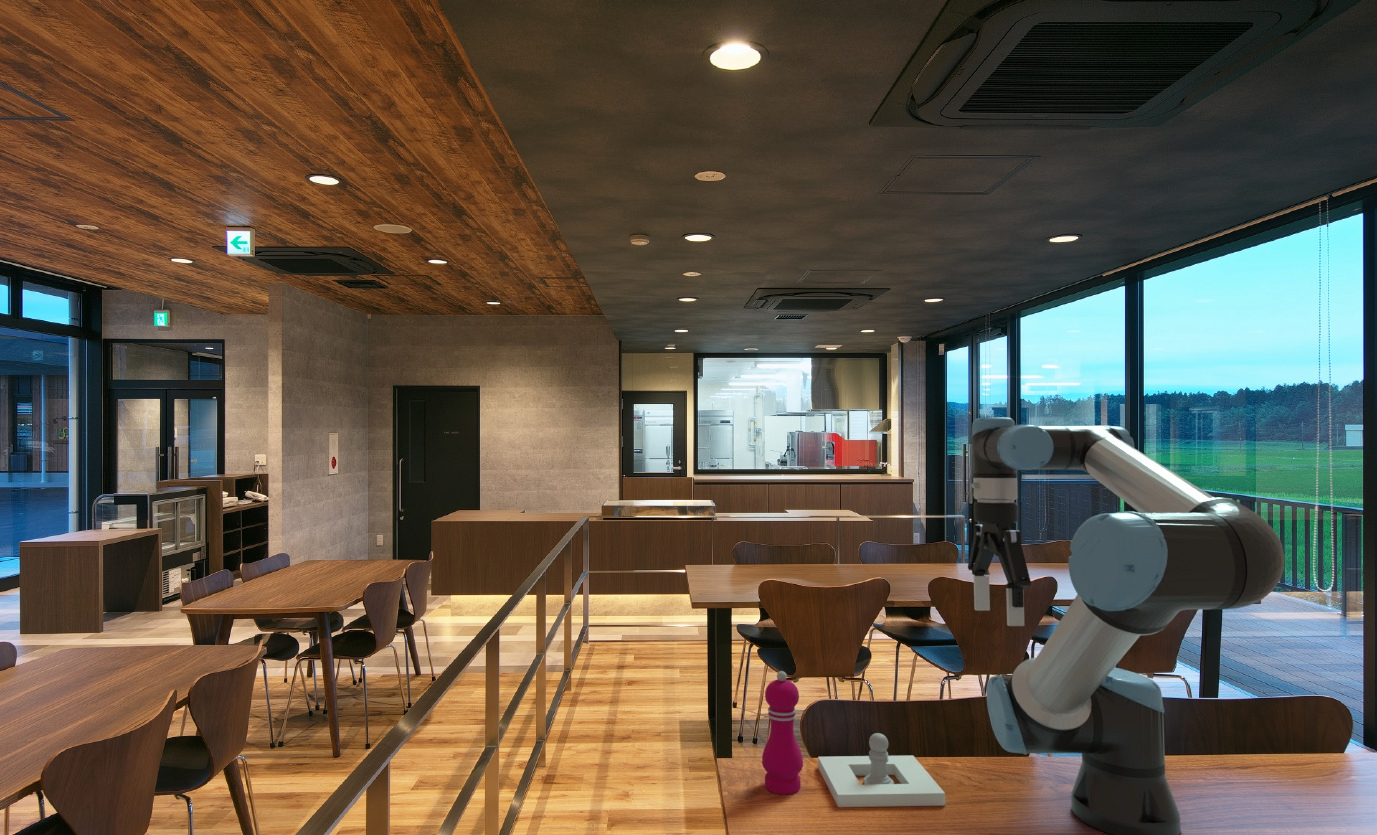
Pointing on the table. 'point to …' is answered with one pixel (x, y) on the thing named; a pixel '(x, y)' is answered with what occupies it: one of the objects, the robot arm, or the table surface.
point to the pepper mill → (782, 738)
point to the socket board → (850, 793)
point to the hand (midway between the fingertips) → (998, 617)
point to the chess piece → (878, 761)
